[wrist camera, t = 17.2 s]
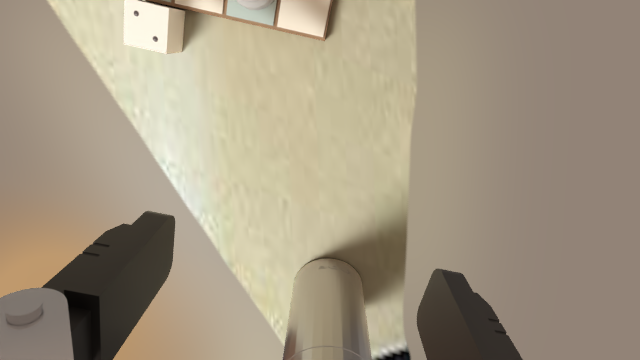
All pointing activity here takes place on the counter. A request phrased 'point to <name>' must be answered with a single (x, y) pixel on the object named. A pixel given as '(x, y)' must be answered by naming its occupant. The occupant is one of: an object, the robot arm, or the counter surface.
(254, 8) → the rook chess piece
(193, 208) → the counter surface
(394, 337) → the counter surface
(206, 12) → the board
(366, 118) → the counter surface
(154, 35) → the die
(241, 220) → the counter surface
